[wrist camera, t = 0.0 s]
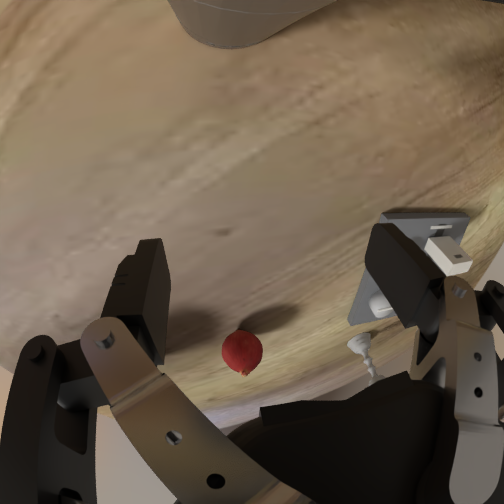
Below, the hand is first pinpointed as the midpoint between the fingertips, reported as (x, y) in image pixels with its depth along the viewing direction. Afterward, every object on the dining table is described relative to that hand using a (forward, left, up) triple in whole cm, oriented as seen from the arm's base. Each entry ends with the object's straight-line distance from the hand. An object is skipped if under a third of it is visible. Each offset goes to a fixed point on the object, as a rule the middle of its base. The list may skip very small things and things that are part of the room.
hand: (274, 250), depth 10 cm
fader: (+13, +29, -15) cm, 35 cm away
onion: (+28, 0, -17) cm, 33 cm away
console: (+19, +27, -17) cm, 37 cm away
